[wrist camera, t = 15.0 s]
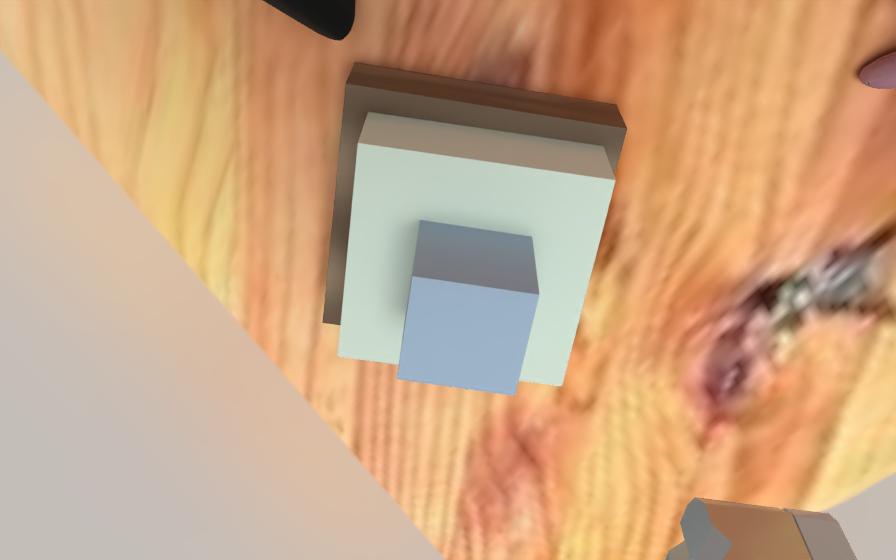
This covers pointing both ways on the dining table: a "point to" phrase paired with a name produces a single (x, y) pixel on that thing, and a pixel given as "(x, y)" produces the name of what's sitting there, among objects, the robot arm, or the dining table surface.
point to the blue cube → (469, 308)
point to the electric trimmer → (320, 15)
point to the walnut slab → (453, 106)
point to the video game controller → (880, 72)
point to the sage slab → (470, 225)
